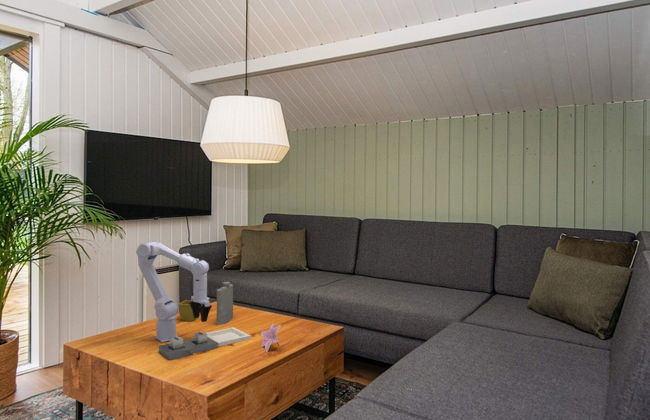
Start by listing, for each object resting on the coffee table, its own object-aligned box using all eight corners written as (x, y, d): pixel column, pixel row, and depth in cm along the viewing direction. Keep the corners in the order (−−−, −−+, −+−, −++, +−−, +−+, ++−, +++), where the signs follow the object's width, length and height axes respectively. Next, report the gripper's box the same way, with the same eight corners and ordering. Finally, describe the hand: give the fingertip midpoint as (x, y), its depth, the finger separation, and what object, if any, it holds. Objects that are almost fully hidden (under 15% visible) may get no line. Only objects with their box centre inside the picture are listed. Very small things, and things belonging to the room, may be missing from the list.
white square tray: (202, 338, 200) (202, 333, 200) (233, 331, 210) (233, 327, 210) (218, 347, 188) (218, 342, 188) (250, 339, 198) (250, 335, 198)
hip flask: (228, 316, 235) (228, 279, 234) (235, 317, 234) (235, 279, 234) (215, 325, 219) (215, 285, 219) (223, 326, 219) (223, 285, 218)
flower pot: (185, 317, 234) (185, 300, 234) (201, 317, 233) (201, 300, 233) (177, 321, 225) (177, 304, 225) (194, 322, 224) (194, 304, 224)
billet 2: (194, 347, 189) (194, 332, 188) (203, 345, 191) (203, 331, 191) (198, 350, 186) (198, 335, 185) (207, 347, 188) (207, 333, 188)
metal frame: (158, 351, 183) (158, 345, 183) (204, 341, 196) (204, 335, 196) (169, 360, 174) (169, 353, 174) (217, 349, 187) (217, 343, 187)
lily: (262, 344, 196) (253, 328, 192) (286, 333, 197) (278, 316, 193) (264, 362, 185) (255, 345, 181) (291, 350, 186) (282, 333, 182)
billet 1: (169, 353, 182) (169, 337, 182) (179, 350, 184) (179, 335, 184) (173, 355, 179) (173, 340, 179) (183, 353, 181) (183, 338, 181)
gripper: (216, 290, 193) (216, 321, 193) (201, 285, 204) (201, 314, 204) (200, 292, 188) (200, 324, 189) (186, 287, 199) (186, 317, 200)
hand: (200, 319), depth 196 cm, fingers open, 7 cm apart
